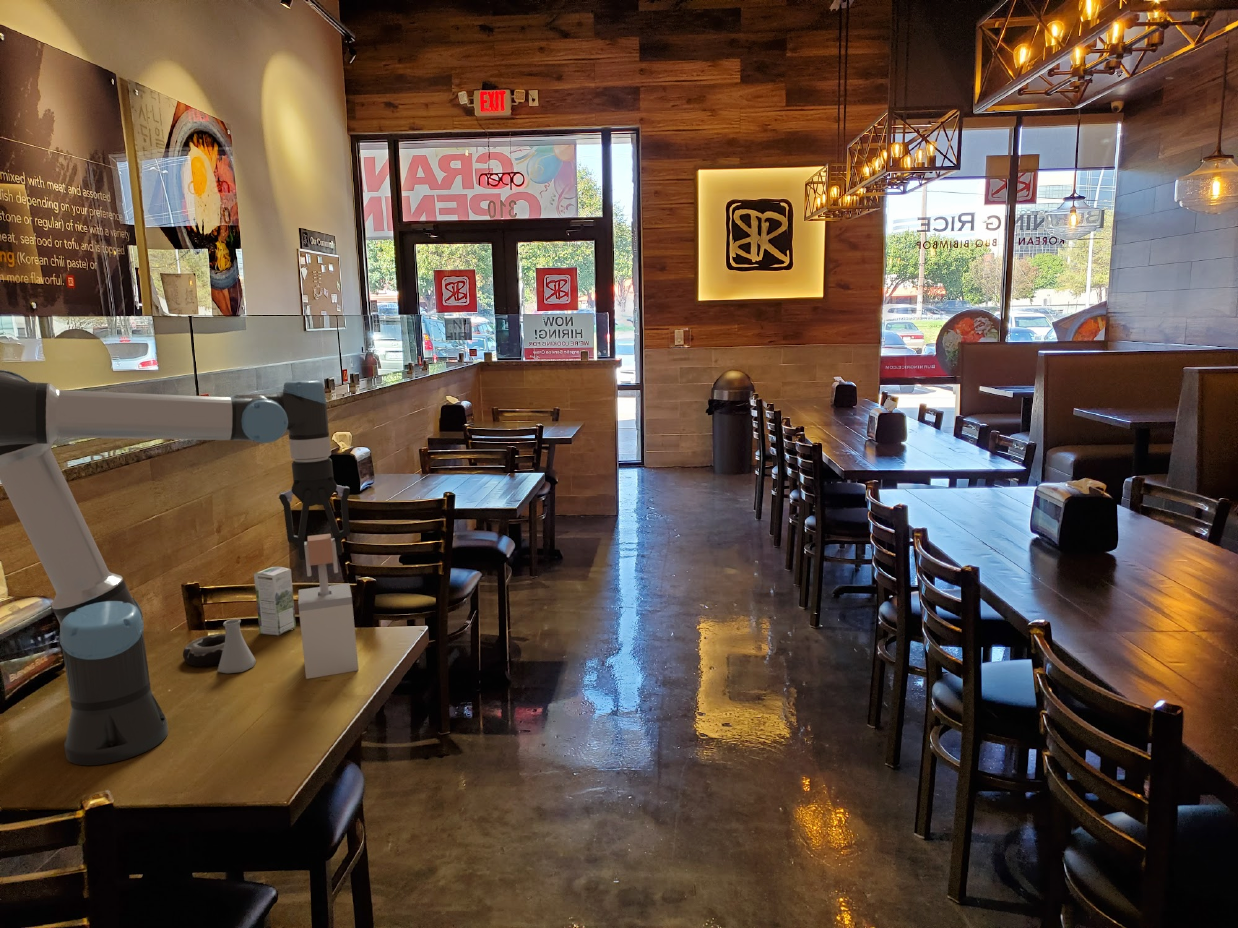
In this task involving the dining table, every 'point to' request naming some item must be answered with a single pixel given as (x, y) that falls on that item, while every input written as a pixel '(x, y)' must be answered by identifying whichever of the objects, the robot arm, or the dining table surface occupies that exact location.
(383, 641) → the dining table surface
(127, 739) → the robot arm
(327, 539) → the pump plunger
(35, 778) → the dining table surface
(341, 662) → the slotted white box
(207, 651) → the donut
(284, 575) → the syrup box
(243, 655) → the flask
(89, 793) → the dining table surface
